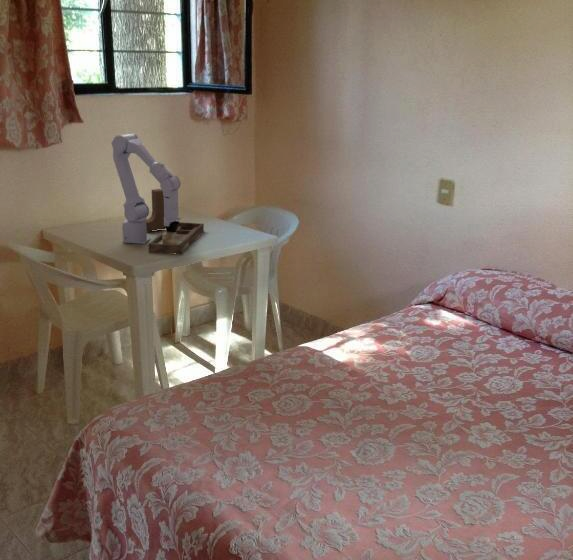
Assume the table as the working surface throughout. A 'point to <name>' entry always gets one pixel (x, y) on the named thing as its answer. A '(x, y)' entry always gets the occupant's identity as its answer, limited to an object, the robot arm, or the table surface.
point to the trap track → (178, 239)
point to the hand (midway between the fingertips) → (172, 239)
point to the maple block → (169, 238)
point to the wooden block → (156, 211)
